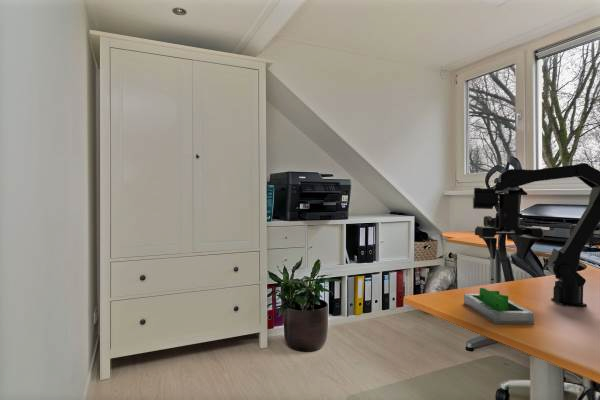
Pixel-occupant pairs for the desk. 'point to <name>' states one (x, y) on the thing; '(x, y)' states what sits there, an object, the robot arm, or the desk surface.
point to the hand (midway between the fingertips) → (507, 259)
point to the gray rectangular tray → (511, 316)
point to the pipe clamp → (494, 299)
